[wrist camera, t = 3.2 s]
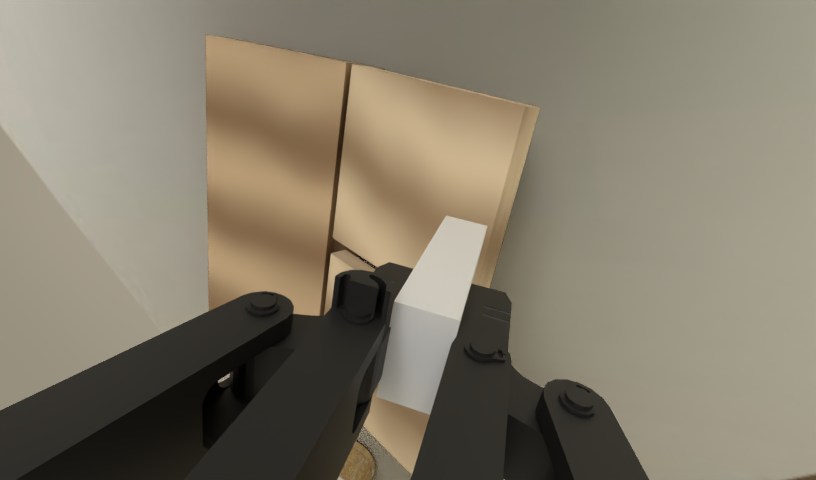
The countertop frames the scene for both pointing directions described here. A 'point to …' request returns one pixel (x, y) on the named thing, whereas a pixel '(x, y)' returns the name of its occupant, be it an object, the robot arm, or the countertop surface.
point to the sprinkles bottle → (358, 464)
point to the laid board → (273, 170)
